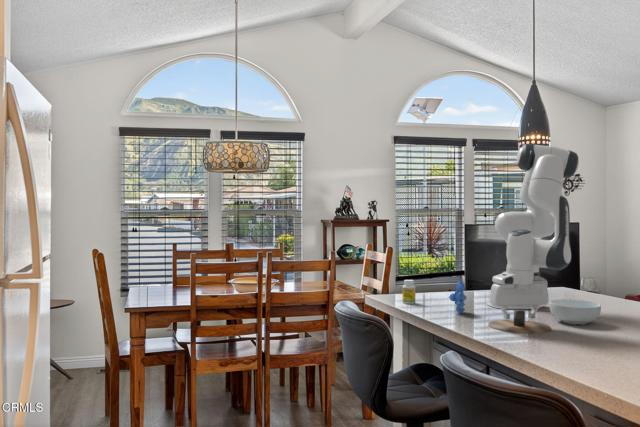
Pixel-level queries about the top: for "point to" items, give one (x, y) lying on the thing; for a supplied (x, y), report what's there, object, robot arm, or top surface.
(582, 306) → the cereal bowl
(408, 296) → the supplement bottle
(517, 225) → the robot arm
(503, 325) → the lid
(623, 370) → the top surface
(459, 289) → the grapes
